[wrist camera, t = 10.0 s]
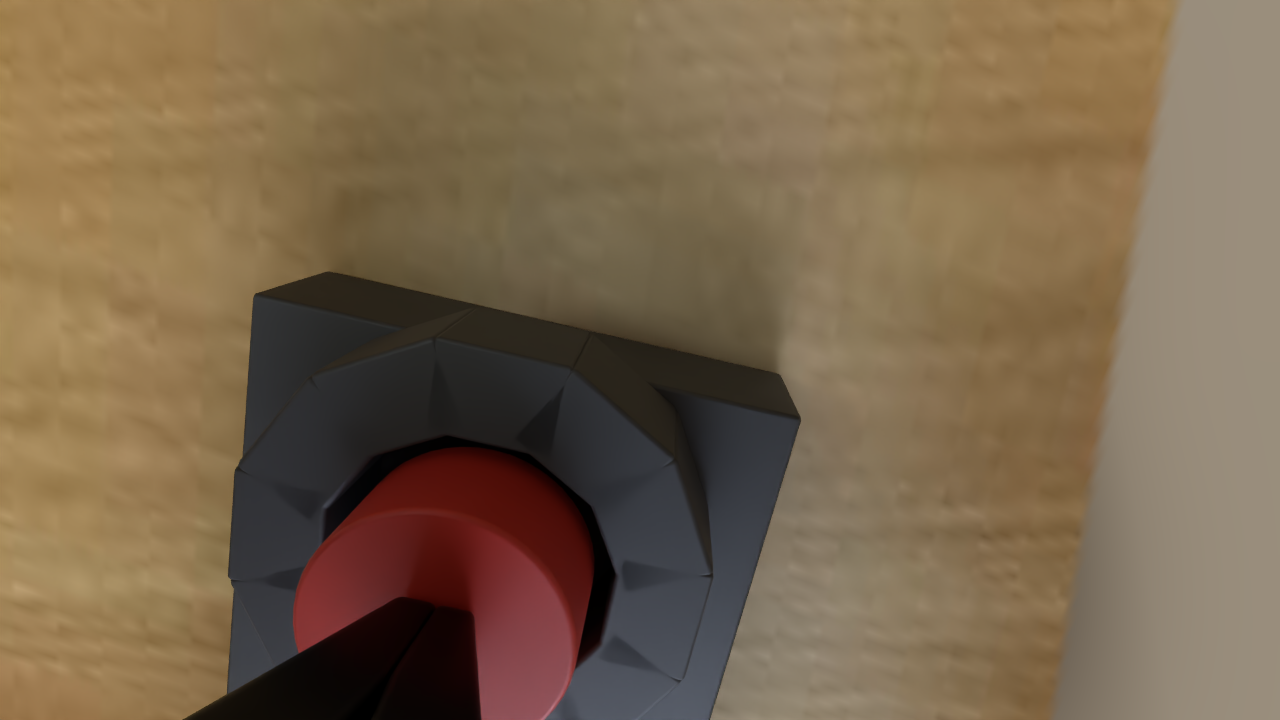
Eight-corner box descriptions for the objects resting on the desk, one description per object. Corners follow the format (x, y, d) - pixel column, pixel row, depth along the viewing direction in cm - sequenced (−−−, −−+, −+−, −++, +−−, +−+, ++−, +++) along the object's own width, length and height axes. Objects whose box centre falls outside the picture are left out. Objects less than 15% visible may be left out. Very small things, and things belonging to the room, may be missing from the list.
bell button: (373, 419, 9) (301, 479, 7) (617, 474, 9) (603, 547, 7) (348, 629, 10) (279, 723, 8) (570, 679, 10) (548, 784, 8)
